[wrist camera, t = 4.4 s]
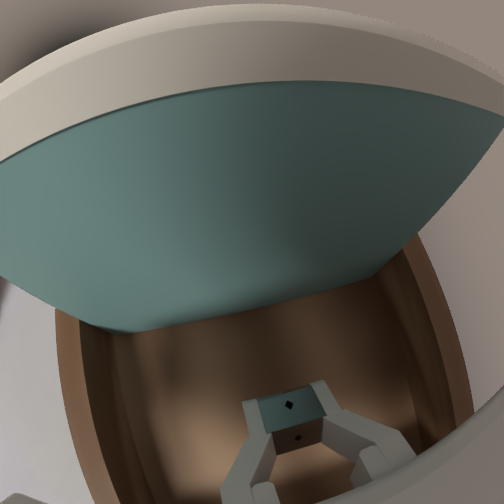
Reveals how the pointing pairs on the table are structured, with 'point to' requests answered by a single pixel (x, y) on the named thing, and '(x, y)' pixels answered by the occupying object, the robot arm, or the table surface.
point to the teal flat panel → (230, 159)
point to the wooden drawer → (261, 385)
